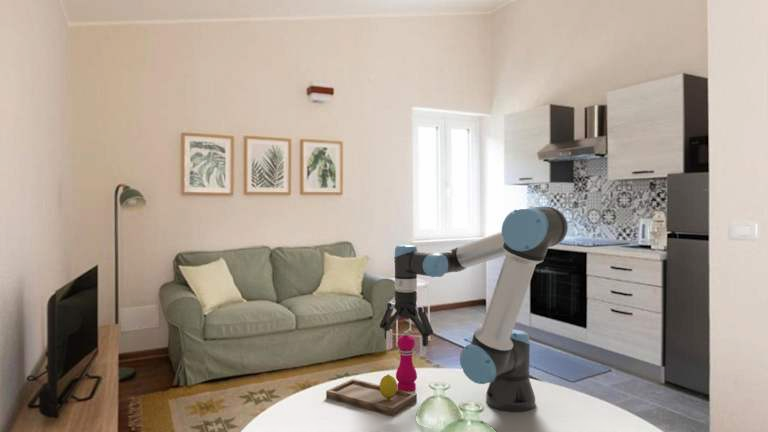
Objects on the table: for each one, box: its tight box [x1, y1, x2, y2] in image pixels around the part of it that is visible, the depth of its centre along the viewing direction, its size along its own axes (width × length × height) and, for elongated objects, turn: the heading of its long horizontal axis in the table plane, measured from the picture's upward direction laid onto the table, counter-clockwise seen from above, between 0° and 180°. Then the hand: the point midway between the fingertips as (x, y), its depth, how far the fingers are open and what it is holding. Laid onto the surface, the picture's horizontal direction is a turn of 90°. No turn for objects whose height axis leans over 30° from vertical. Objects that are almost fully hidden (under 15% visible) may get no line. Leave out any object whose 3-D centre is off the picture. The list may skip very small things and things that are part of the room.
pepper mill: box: [395, 330, 418, 393], centre depth 175 cm, size 7×7×20 cm
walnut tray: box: [325, 378, 418, 417], centre depth 165 cm, size 26×14×2 cm, turn 55°
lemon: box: [379, 374, 398, 400], centre depth 161 cm, size 6×6×8 cm
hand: (405, 352), depth 175 cm, fingers open, 13 cm apart
